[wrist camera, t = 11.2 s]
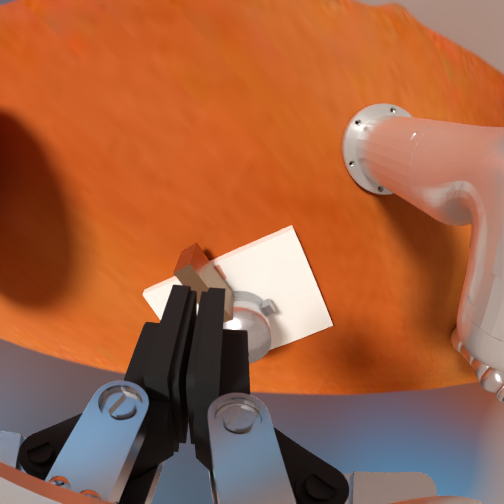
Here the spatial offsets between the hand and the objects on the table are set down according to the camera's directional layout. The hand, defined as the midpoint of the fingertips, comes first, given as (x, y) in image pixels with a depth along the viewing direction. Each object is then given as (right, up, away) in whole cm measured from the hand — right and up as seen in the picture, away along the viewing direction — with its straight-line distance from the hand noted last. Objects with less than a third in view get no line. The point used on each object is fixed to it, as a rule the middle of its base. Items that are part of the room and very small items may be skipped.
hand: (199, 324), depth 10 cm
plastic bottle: (+45, -14, +44) cm, 64 cm away
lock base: (0, -6, +38) cm, 39 cm away
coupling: (-2, -3, +35) cm, 35 cm away
